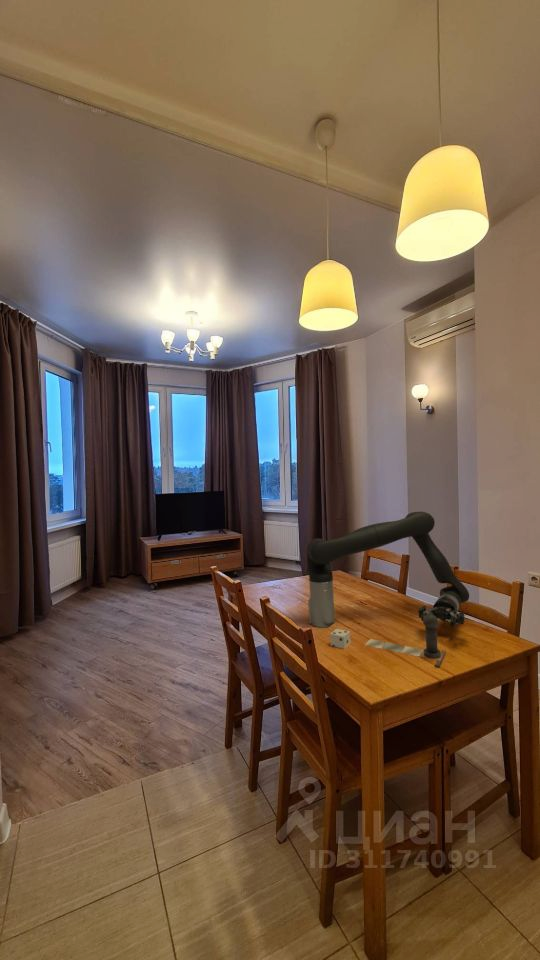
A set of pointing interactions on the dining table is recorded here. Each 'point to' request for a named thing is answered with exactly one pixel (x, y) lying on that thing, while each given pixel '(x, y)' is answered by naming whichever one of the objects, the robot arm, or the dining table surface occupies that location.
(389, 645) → the board
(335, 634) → the die
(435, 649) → the pawn
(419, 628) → the dining table surface
